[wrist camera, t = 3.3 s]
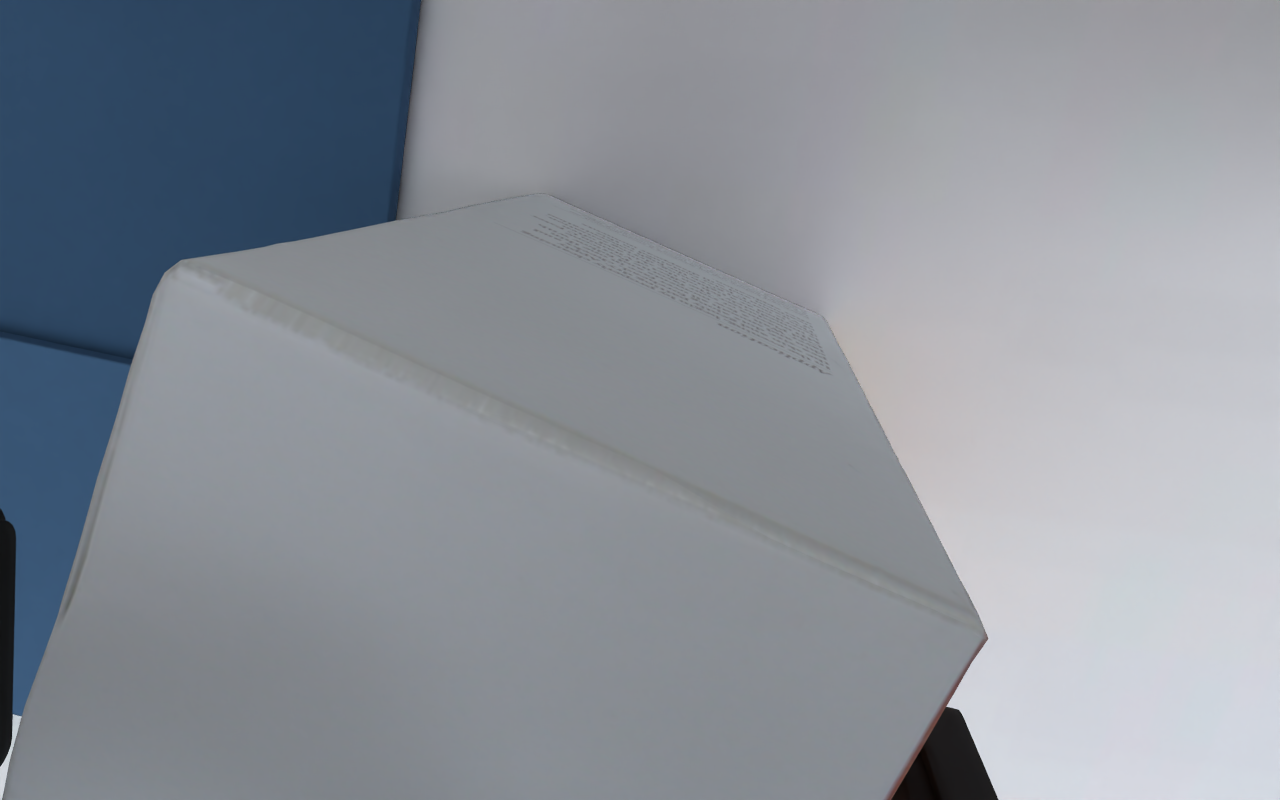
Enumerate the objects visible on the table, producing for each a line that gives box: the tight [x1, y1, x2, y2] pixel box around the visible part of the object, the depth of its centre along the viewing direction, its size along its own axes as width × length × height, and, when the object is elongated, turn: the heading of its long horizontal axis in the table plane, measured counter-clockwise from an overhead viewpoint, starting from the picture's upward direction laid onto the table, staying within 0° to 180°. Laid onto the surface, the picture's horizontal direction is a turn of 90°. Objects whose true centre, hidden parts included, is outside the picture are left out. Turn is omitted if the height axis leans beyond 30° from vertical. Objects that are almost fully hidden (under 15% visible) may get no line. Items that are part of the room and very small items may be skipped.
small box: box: [2, 193, 988, 800], centre depth 14 cm, size 8×6×13 cm
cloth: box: [0, 0, 421, 716], centre depth 20 cm, size 12×20×1 cm, turn 169°
